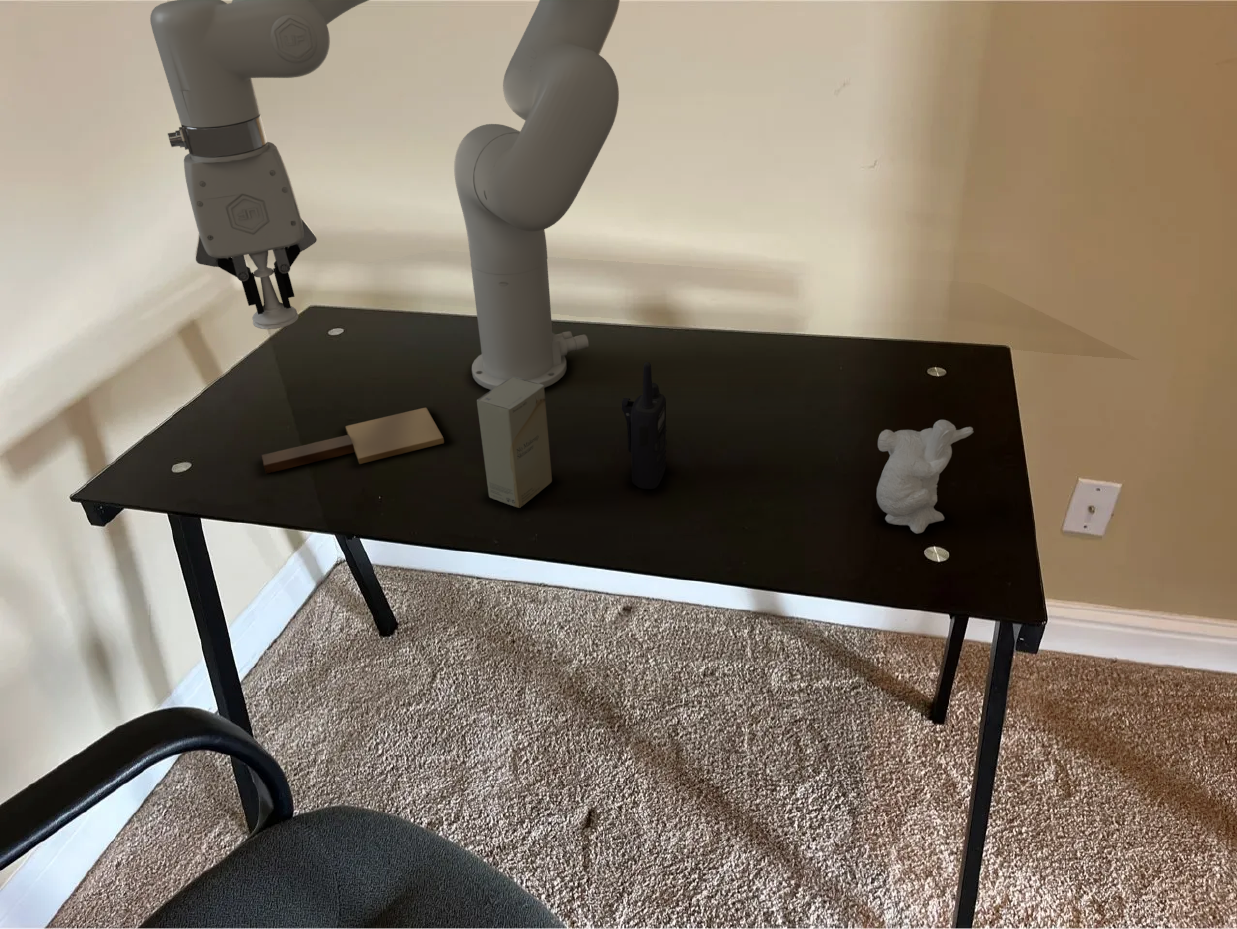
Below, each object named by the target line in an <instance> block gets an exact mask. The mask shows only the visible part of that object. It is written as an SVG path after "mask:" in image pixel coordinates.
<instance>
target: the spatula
mask: <svg viewBox="0 0 1237 929" xmlns="http://www.w3.org/2000/svg"><path fill="white" fill-rule="evenodd" d="M345 432H346V434H344V435H341V436H337V437H332V438H329V439H324V440H320V441H315V442H311V443H307V444H303V445H298V446H294V447H290V448H285V449H282V450H277V451H274V452H270V453H265V454H261V460H262V464H263V468H264V472H265V474H267V475H268V474H270V473H277V472H280V471H283V470H289V469H291V468H296V467H300V466H304V465H308V464H312V463H313V464H314V463H316V462H321V461H324V460H329V459H333V458H337V457H342V456H345V455H349V454H355V456H356V459H357V462H358V464H359V465H362V464H366V463H369V462H370V463H371V462H374V461H378V460H382V459H387V458H391V457H393V456H398V455H402V454H407V453H410V452H414V451H415V452H416V451H418V450H422V449H426V448H431V447H435V446H439V445H442V444H443V445H444V443H445V439H444V437H443V435H442V433H441V431H440V429H439V428H438V426H437V424H436V422H435V421H434V419H433V417H432V414H431V413H430V411H429V410H428V408H427V407H421V408H418V409H417V408H416V409H414V410H409V411H405V412H400V413H395V414H391V415H388V416H383V417H379V418H375V419H370V420H366V421H362V422H358V423H353V424H348V425H345Z"/></svg>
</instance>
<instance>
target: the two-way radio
mask: <svg viewBox="0 0 1237 929" xmlns="http://www.w3.org/2000/svg"><path fill="white" fill-rule="evenodd" d="M642 372H643V373H642V374H643V375H642V394H640V395H639V396H638V397H636V399H634V401H631V398H629V397H623V399H622V400H621V411H622V414H623V415H624V418H625V421H626V428H627V448H628V450H627V451H628V452H629V453H630V454H631V455H630V456H631V459H630V460H631V482H632V484H633V485H634V486H636V487H637V488H638V489H642V490H653V489H656V488H658V486H659V485H660V483H661V481H662V479H663V477H664V474H665V472H666V466H667V445H668V439H667V432H668V429H667V397H666V396H665V395H664V394H663V393H660V388H659V384H658V383H657V382H653V375H652V363H651V362H650V361H645V362H644V363H643V371H642Z"/></svg>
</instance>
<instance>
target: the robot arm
mask: <svg viewBox="0 0 1237 929" xmlns="http://www.w3.org/2000/svg"><path fill="white" fill-rule="evenodd" d="M368 1H370V0H231V2H229V3H227V2H225V1H224V0H171V1H166V2H163V3H160V4H158V5H156V6H154V8H153V9H152V10H151V13H150V17H149V18H150V20H149V21H150V26H151V30H152V34H153V37H154V42H155V44H156V48H157V50H158V54H159V57H160V61H161V64H162V67H163V71H164V73H165V77H166V80H167V83H168V87H169V90H170V93H171V96H172V100H173V103H174V106H175V109H176V113H177V115H178V120H179V123H180V126H179V127H178V130H174V132H173V131H172V132H167V137H168V140H169V143H170V147H171V148H177V147H179V148H181V149H182V148H184V150H186V151H187V150H188V153H187V154H186V155H184V159H183V168H184V169H183V170H184V177H185V183H186V188H187V193H188V198H189V200H190V205H191V208H192V213H193V217H194V220H195V224H196V228H197V231H198V235H197V242H196V248H195V253H194V256H195V257H194V258H195V262H196V263H197V264H199V265H203V266H207V267H213V268H215V267H216V268H220V269H221V270H223V271H224V272H226V273H228V274H230V275H232V276H234V277H235V278H237V280H238V281H240V282H241V285H242V288H243V292H244V295H245V298H246V302H247V305H248V306H249V307H250V306H255V308H256V312H258V314H263V312H264V309H263V305H264V304H263V302H262V299H261V294H260V291H259V288H258V283H257V280H256V277H255V276H254V271H253V272H252V270H251V268H250V267H249V266H248V265H247V262H246V259H245V255H246V256H247V255H249V254H252V253H258V252H263V251H268V252H269V251H272V253H273V256H274V260H275V261H274V262H273V266H274V267H273V268H272V269H273V271H274V273H273V275H274V278H275V281H276V285H277V288H278V292H279V295H280V299H281V303H283V306H284V308H286V309H288V308H291V306H292V305H291V302H290V298H294V297H295V296H296V295H295V292H294V288H293V285H292V284H293V283H292V280H291V277H290V272H291V268H292V265H293V264H294V263H295V261H296V260H297V259H298V257H299V255H300V254H301V252H304V251H305V250H307V249H309V247H311V246H313V245H314V244H315V243H317V241H318V239H317V236H316V234H315V233H314V231H313V230H312V228H311V227H310V226H309V225H308V223H307V222H306V221H305V219H303V217H302V215H301V211H300V209H299V205H298V201H297V199H296V195H295V191H294V189H293V185H292V181H291V178H290V176H289V172H288V170H287V167H286V165H285V163H284V160H283V157H282V155H281V153H280V151H279V149H278V147H277V146H276V145H275V144H274V143H273V142H270V141H268V138H267V135H266V132H265V131H266V130H265V125H264V122H263V119H262V114H261V111H260V106H259V103H258V99H257V95H256V90H255V87H254V83H253V79H294V78H300V77H304V76H307V75H309V74H311V73H313V72H314V71H317V70H318V69H319V68H320V67H321V66H322V65H323V63H324V62H325V60H326V59H327V56H328V54H329V51H330V46H331V37H330V31H329V27H328V25H329V24H330V23H332V22H333V21H334V20H335V19H338V17H341V15H343V14H345V13H346V12H348V11H350V10H351V9H353V8H355V7H358V6H359V5H361V4H364V3H366V2H368ZM620 1H621V0H539V1H538V3H537V6H536V8H535V10H534V12H533V14H532V16H531V18H530V20H529V22H528V24H527V26H526V28H525V30H524V33H523V35H522V37H521V38H520V41H519V43H518V44H517V46H516V49H515V51H514V53H513V55H512V56H511V58H510V61H509V62H508V65H507V68H506V69H505V72H504V75H503V80H502V92H503V97H504V100H505V102H506V103H507V105H508V107H509V109H511V111H512V112H513V113H514V114H515V115H517V116H518V117H519V118H521V119H522V120H524V123H523V125H522V127H521V129H520V130H518V129H516V128H514V127H511V126H508V125H504V124H500V123H487V124H481V125H479V126H476V127H475V128H473V129H471V130H470V131H469V132H468V133H467V134H466V135H465V136H464V137H463V138H462V140H461V141H460V143H459V144H458V147H457V149H456V152H455V155H454V161H453V162H454V163H453V174H454V175H453V176H454V183H455V187H456V192H457V196H458V200H459V203H460V208H461V212H462V215H463V221H464V224H465V225H464V226H465V229H466V235H467V236H466V237H467V242H468V243H467V244H468V250H469V258H470V268H471V276H472V277H471V278H472V285H473V286H472V287H473V294H474V301H475V309H476V310H475V311H476V318H477V325H478V326H477V327H478V334H479V344H480V351H481V354H479V355H478V356H477V357H476V358H475V359H474V360H473V362H472V364H471V374H472V378H473V380H474V381H475V382H476V383H477V384H478V385H479V386H481V387H482V388H484V389H488V390H489V391H491V390H492V389H494V388H495V387H497V386H498V385H500V384H501V383H503V382H504V381H506V380H507V379H509V378H510V377H518V378H521V379H525V380H528V381H531V382H535V383H538V384H542V385H544V389H545V388H547V387H550V386H552V385H554V384H555V383H557V382H558V381H559V380H561V378H563V377H564V376H565V374H566V372H567V358H566V356H567V355H568V353H570V352H577V351H581V350H586V349H588V348H589V339H588V336H587V335H586V334H585V333H584V334H580V335H576V336H573V332H572V331H571V330H567V331H563V332H560V333H557V334H555V332H553V321H552V320H553V319H552V310H551V309H552V308H551V295H550V294H551V293H550V282H549V266H548V247H547V236H546V231H545V230H546V229H549V228H551V227H553V226H554V225H556V224H557V222H559V221H560V220H561V219H562V218H563V217H564V216H565V215H566V213H567V212H568V211H569V209H570V208H571V207H572V205H573V203H574V201H575V200H576V198H577V197H578V194H579V192H580V191H581V189H582V187H583V185H584V183H585V181H586V179H587V177H588V175H589V173H590V171H591V170H592V167H593V166H594V164H595V162H596V160H597V158H598V157H599V154H600V152H601V150H602V149H603V146H604V145H605V143H606V141H607V139H608V137H609V135H610V133H611V130H612V129H613V126H614V123H615V120H616V117H617V114H618V108H619V101H620V90H619V83H618V78H617V76H616V73H615V71H614V69H613V68H612V66H611V64H610V63H609V62H608V61H607V59H606V58H604V57H603V56H601V52H602V49H603V48H604V45H605V43H606V40H607V38H608V37H609V33H610V32H611V29H612V27H613V25H614V22H615V20H616V17H617V15H618V10H619V6H620Z"/></svg>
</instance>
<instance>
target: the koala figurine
mask: <svg viewBox="0 0 1237 929" xmlns="http://www.w3.org/2000/svg"><path fill="white" fill-rule="evenodd" d="M974 431H975V430H974V428H973V427H972V426H966V427H963V428H961V429H957V428H956V426H955V424H953V423H952V422H951V421H949V420H946V419H939V420H937V421H935V422H934V424H933V426H932V427H929V428H924V429H922V430H921V431H917V430H913V429H900V430H897V431H893V430H891V429H884V430H882V431H881V432H880V433H879V434H878V439H877V448H878V450H879V451H880V452H883V453H884V452H888V454H889V457H888V460H887V462H886V463H885V465H884V467H883V470H882V472H881V475H880V477H879V480H878V482H877V486H876V496H875V497H876V498H875V499H876V501H877V505H878V507H879V508H880V510H881V511H882V512H884V513H886V515H885V517H884V520H885V521H886V523H888V524H890V525H898V526H908V527H909V528H910V529H909V530H910V531H912V533H914V534H917V535H918V534H923V533H924V532H925V530H926V528H927V527H928V526H929V525H931V524H934V523H938V522H943V521H944V520H945V516H944V514H943V513H942V512H940V511H938V510H936V508H934V507H935V505H936V504H937V502H938V495H937V494H938V493H937V492H938V489H937V488H938V483H939V480H940V474H941V473H942V472H943V471H944V470H945V468H947V466H948V464H949V462H950V461H951V458H952V456H953V455H952V454H953V448H952V444H953V443H956V442H958V441H960V440H963V439H966V438H967V437H969V436H971V435H972V434H973V433H974Z"/></svg>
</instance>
